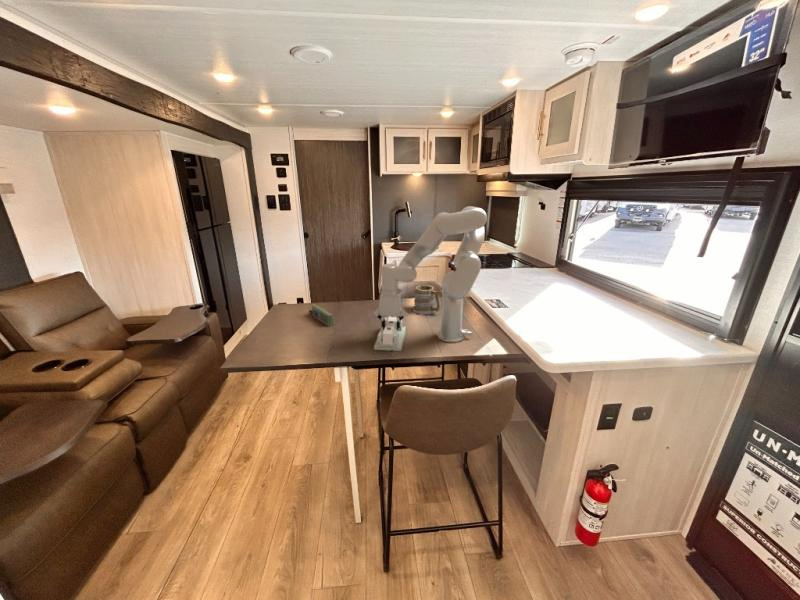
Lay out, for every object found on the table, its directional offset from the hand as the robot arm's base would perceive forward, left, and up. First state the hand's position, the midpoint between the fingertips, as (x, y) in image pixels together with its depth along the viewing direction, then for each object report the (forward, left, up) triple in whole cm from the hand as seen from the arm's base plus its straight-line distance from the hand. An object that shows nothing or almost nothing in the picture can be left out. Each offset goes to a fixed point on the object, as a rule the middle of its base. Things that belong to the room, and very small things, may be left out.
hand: (390, 328), depth 144 cm
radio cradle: (0, 0, -6) cm, 6 cm away
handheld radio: (+42, -20, -6) cm, 46 cm away
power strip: (0, 0, -2) cm, 2 cm away
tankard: (-17, -35, -6) cm, 39 cm away
